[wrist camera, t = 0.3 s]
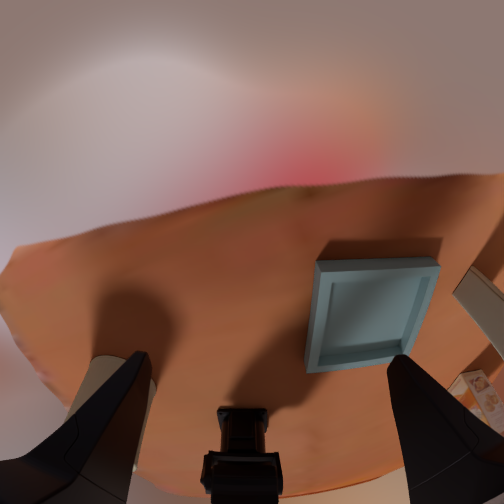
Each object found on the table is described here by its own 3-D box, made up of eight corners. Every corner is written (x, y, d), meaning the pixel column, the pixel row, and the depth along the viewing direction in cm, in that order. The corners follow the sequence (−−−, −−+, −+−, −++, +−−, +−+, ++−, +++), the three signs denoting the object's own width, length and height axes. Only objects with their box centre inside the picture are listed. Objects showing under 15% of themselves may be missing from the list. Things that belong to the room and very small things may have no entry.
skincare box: (491, 281, 25) (548, 339, 14) (471, 309, 27) (522, 373, 16) (470, 263, 24) (538, 328, 13) (449, 295, 26) (508, 368, 15)
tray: (400, 347, 29) (407, 359, 27) (303, 359, 29) (306, 373, 27) (430, 256, 24) (441, 266, 22) (315, 260, 24) (321, 272, 22)
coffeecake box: (459, 372, 33) (507, 462, 15) (482, 367, 34) (528, 446, 16) (415, 424, 39) (445, 504, 22) (440, 418, 40) (470, 490, 22)
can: (158, 406, 33) (142, 482, 22) (97, 390, 32) (71, 458, 21) (154, 365, 29) (129, 456, 18) (83, 346, 28) (43, 424, 17)
